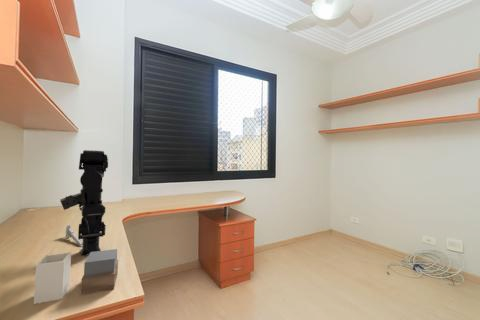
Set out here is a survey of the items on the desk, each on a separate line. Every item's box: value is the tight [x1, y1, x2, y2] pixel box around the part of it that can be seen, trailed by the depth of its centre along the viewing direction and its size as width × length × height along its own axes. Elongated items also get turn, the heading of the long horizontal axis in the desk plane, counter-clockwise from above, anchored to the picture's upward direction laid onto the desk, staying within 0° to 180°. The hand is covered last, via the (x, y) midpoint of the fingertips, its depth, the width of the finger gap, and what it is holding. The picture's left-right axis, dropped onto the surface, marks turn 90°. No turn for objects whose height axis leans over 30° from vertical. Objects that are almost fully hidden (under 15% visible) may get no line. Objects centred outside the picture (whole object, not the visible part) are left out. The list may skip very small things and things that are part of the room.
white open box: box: [33, 252, 72, 305], centre depth 59 cm, size 6×6×10 cm
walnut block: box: [80, 259, 119, 296], centre depth 66 cm, size 10×8×4 cm
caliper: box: [65, 224, 83, 248], centre depth 99 cm, size 20×1×6 cm, turn 55°
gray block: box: [83, 248, 118, 277], centre depth 66 cm, size 8×7×4 cm
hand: (90, 230), depth 75 cm, fingers open, 9 cm apart
